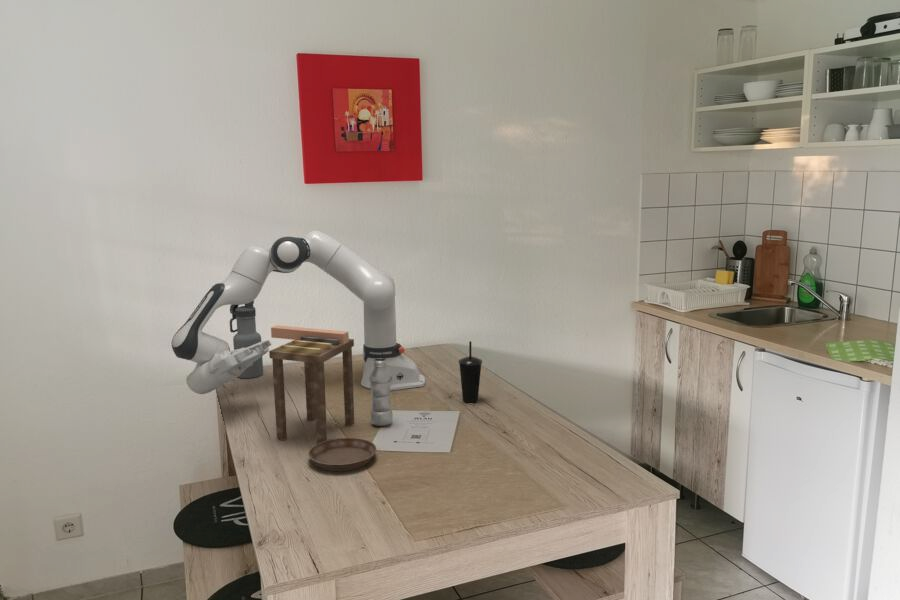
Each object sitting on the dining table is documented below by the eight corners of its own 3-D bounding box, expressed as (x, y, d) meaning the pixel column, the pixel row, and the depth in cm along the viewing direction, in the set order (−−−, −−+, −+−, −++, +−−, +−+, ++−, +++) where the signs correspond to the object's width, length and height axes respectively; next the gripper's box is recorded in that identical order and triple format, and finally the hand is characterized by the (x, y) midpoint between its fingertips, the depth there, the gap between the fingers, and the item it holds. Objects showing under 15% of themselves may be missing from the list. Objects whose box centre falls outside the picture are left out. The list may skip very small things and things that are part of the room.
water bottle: (229, 377, 255) (223, 302, 250) (244, 370, 264) (239, 296, 259) (253, 380, 252) (249, 303, 247) (268, 372, 261) (264, 298, 256)
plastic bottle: (389, 429, 206) (388, 363, 202) (367, 427, 207) (365, 362, 203) (395, 421, 212) (394, 357, 208) (374, 419, 213) (372, 356, 209)
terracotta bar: (271, 337, 208) (270, 327, 207) (277, 335, 211) (276, 325, 210) (343, 344, 200) (343, 334, 199) (348, 341, 203) (348, 331, 202)
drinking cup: (482, 397, 233) (482, 338, 229) (481, 405, 225) (481, 345, 221) (459, 396, 233) (459, 338, 229) (457, 404, 226) (457, 344, 222)
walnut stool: (274, 440, 199) (268, 345, 193) (309, 417, 216) (305, 330, 211) (324, 447, 193) (320, 351, 188) (356, 423, 211) (353, 334, 205)
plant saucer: (303, 452, 191) (303, 442, 190) (367, 443, 197) (367, 433, 196) (315, 480, 174) (314, 468, 174) (384, 469, 180) (384, 458, 180)
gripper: (201, 365, 208) (233, 346, 202) (243, 347, 227) (274, 329, 221) (211, 384, 208) (244, 365, 202) (253, 365, 227) (283, 347, 221)
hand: (260, 346), depth 212 cm, fingers open, 8 cm apart
